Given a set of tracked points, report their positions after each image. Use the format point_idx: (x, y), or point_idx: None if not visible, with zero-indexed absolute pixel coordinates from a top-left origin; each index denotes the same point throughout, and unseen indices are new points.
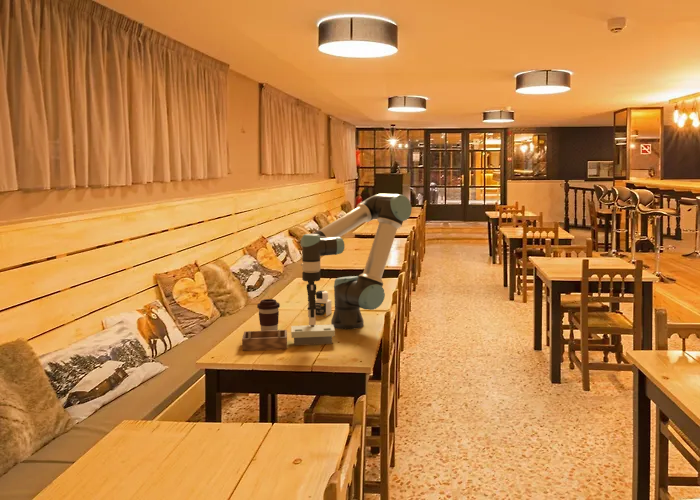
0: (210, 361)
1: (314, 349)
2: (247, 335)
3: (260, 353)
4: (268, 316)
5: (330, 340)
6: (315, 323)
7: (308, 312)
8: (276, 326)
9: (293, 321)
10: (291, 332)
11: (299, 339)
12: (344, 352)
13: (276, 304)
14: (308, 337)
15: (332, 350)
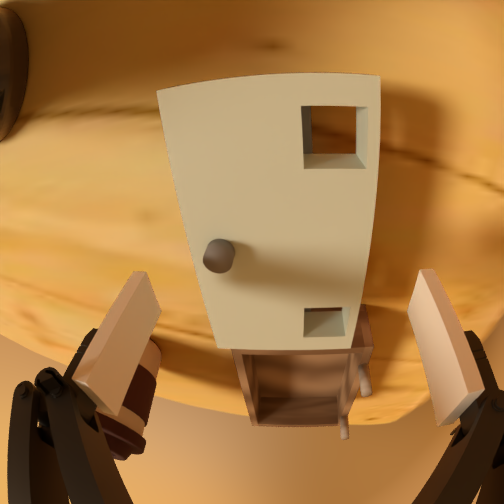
0: (398, 416)
1: (404, 194)
2: (258, 411)
3: (383, 362)
4: (146, 410)
5: None
6: (437, 277)
7: (146, 340)
8: None
9: (5, 276)
10: (350, 345)
11: None
12: (478, 53)
13: None
14: None
15: (441, 103)
